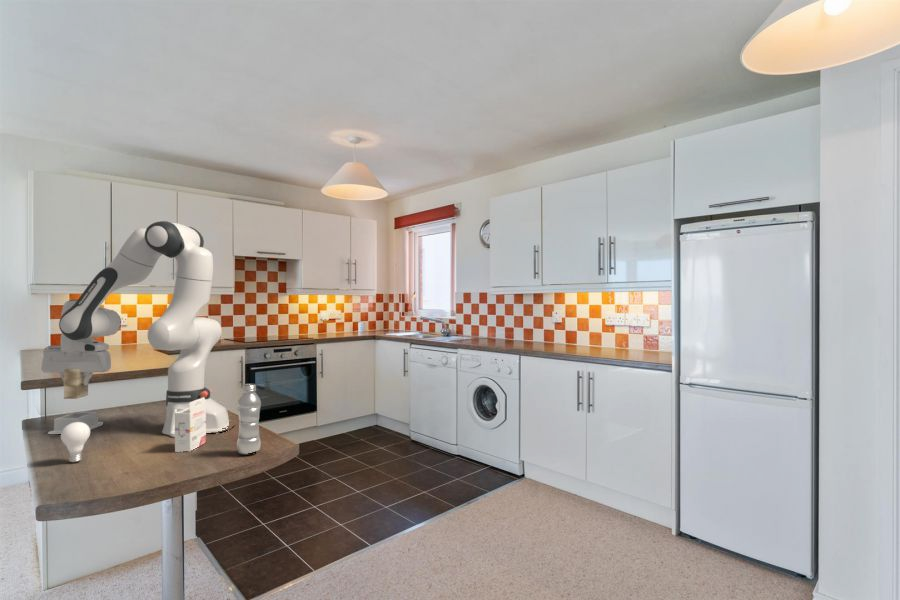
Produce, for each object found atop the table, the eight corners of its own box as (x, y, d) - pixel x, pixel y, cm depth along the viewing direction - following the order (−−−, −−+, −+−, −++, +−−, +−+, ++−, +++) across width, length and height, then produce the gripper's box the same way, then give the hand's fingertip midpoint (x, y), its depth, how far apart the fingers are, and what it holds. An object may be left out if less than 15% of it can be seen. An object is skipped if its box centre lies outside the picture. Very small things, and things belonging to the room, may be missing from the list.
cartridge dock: (102, 424, 165) (103, 410, 166) (81, 433, 154) (81, 418, 154) (72, 425, 164) (72, 411, 164) (48, 435, 152) (48, 420, 152)
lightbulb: (65, 467, 121) (66, 426, 121) (56, 463, 125) (56, 423, 125) (94, 461, 127) (94, 421, 127) (84, 457, 130) (84, 418, 130)
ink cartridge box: (190, 443, 142) (191, 396, 143) (206, 443, 142) (206, 396, 142) (173, 452, 134) (173, 402, 134) (190, 452, 134) (190, 402, 134)
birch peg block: (87, 395, 162) (88, 367, 162) (76, 398, 156) (77, 369, 156) (75, 395, 162) (76, 367, 162) (63, 398, 156) (64, 369, 156)
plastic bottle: (255, 448, 138) (255, 382, 138) (264, 453, 133) (264, 384, 133) (233, 453, 133) (233, 384, 133) (241, 458, 128) (242, 387, 128)
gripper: (36, 346, 155) (36, 387, 154) (103, 346, 157) (102, 386, 157) (50, 344, 161) (49, 384, 161) (113, 344, 164) (113, 383, 164)
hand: (76, 385), depth 159 cm, fingers closed on birch peg block, 4 cm apart
